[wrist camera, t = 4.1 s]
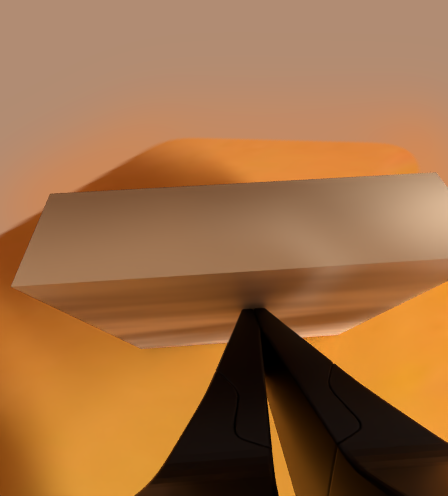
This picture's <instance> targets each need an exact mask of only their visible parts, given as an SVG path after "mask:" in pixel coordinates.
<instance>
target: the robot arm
mask: <svg viewBox="0 0 448 496" xmlns="http://www.w3.org/2000/svg"><path fill="white" fill-rule="evenodd" d="M267 398H268V402H269V405H270V409H271V412H272V416H273V419H274V423H275V426H276V429H277V433H278V436H279V440H280V443H281V447H282V450H283V454H284V457H285V461H286V464H287V468H288V471H289V475H290V478H291V481H292V485H293V488H294V492H295V495H296V496H448V443H447V442H446V441H444V440H443V439H441V438H439V437H438V436H436V435H435V434H433V433H432V432H430V431H429V430H427V429H426V428H424V427H423V426H422V425H420V424H419V423H417V422H416V421H414V420H413V419H411V418H410V417H408V416H407V415H405V414H404V413H402V412H401V411H399V410H398V409H396V408H395V407H393V406H392V405H390V404H389V403H387V402H386V401H385V400H383V399H382V398H380V397H379V396H377V395H376V394H374V393H373V392H372V391H370V390H369V389H367V388H366V387H364V386H363V385H362V384H360V383H359V382H358V381H356V380H355V379H354V378H352V377H351V376H350V375H348V374H347V373H346V372H345V371H343V370H342V369H341V368H340V367H338V366H337V365H336V364H333V362H332V361H331V360H329V359H328V358H327V357H326V356H324V355H323V354H322V353H321V352H319V351H318V350H317V349H316V348H314V347H313V346H312V345H311V344H309V343H308V342H307V341H306V340H304V339H303V338H302V337H301V336H299V335H298V334H297V333H295V332H294V331H293V330H292V329H290V328H289V327H288V326H287V325H285V324H284V323H283V322H282V321H280V320H279V319H278V318H277V317H275V316H274V315H273V314H272V313H270V312H269V311H268V310H267V309H265V308H255V309H254V310H253V309H242V310H241V313H240V315H239V317H238V320H237V322H236V324H235V327H234V329H233V331H232V334H231V336H230V338H229V341H228V343H227V346H226V348H225V350H224V353H223V355H222V357H221V360H220V362H219V364H218V367H217V369H216V372H215V373H214V376H213V378H212V380H211V383H210V385H209V387H208V389H207V391H206V393H205V395H204V397H203V399H202V401H201V403H200V404H199V406H198V408H197V410H196V412H195V413H194V415H193V417H192V418H191V420H190V422H189V423H188V425H187V427H186V428H185V430H184V432H183V433H182V435H181V436H180V438H179V440H178V441H177V443H176V445H175V446H174V448H173V450H172V451H171V453H170V455H169V456H168V458H167V460H166V461H165V463H164V464H163V466H162V467H161V469H160V470H159V471H158V473H157V474H156V475H155V476H154V478H153V479H152V480H151V481H150V482H149V483H148V484H147V485H146V486H145V487H144V488H143V489H142V490H141V491H140V492H138V493H137V494H136V495H135V496H279V495H278V490H277V485H276V479H275V472H274V464H273V455H272V444H271V434H270V424H269V414H268V403H267Z"/></svg>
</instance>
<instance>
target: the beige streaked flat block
mask: <svg viewBox="0 0 448 496" xmlns="http://www.w3.org/2000/svg"><path fill="white" fill-rule="evenodd" d="M446 281H448V187H447V186H446V185H445V183H444V182H443V181H442V180H441V178H440V177H439V175H438V174H437V173H418V174H400V175H382V176H364V177H346V178H327V179H309V180H291V181H273V182H255V183H237V184H219V185H201V186H183V187H164V188H146V189H128V190H110V191H92V192H74V193H56V194H50V195H49V198H48V200H47V202H46V205H45V207H44V210H43V212H42V214H41V217H40V219H39V221H38V224H37V226H36V228H35V231H34V233H33V235H32V238H31V240H30V242H29V245H28V247H27V250H26V252H25V254H24V257H23V259H22V261H21V264H20V266H19V268H18V271H17V273H16V275H15V278H14V280H13V283H12V285H11V287H12V288H14V289H16V290H19V291H21V292H23V293H25V294H27V295H29V296H31V297H33V298H35V299H38V300H40V301H42V302H44V303H46V304H48V305H50V306H52V307H54V308H56V309H59V310H61V311H63V312H65V313H67V314H69V315H71V316H73V317H75V318H78V319H80V320H82V321H84V322H86V323H88V324H90V325H92V326H94V327H96V328H99V329H101V330H103V331H105V332H107V333H109V334H111V335H113V336H115V337H118V338H120V339H122V340H124V341H126V342H128V343H130V344H132V345H134V346H136V347H139V348H141V349H146V348H160V347H174V346H188V345H202V344H216V343H228V341H229V338H230V336H231V334H232V331H233V329H234V327H235V324H236V322H237V320H238V317H239V315H240V313H241V310H242V309H253V310H254V309H255V308H265V309H267V310H268V311H269V312H270V313H272V314H273V315H274V316H275V317H277V318H278V319H279V320H280V321H282V322H283V323H284V324H285V325H287V326H288V327H289V328H290V329H292V330H293V331H294V332H295V333H297V334H298V335H299V336H301V337H314V336H328V335H339V334H341V333H343V332H345V331H347V330H349V329H351V328H353V327H355V326H357V325H359V324H361V323H363V322H365V321H367V320H369V319H371V318H373V317H375V316H377V315H379V314H381V313H383V312H385V311H387V310H389V309H391V308H393V307H395V306H398V305H400V304H402V303H404V302H406V301H408V300H410V299H412V298H414V297H416V296H418V295H420V294H422V293H424V292H426V291H428V290H430V289H432V288H434V287H436V286H438V285H440V284H442V283H444V282H446Z"/></svg>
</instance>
